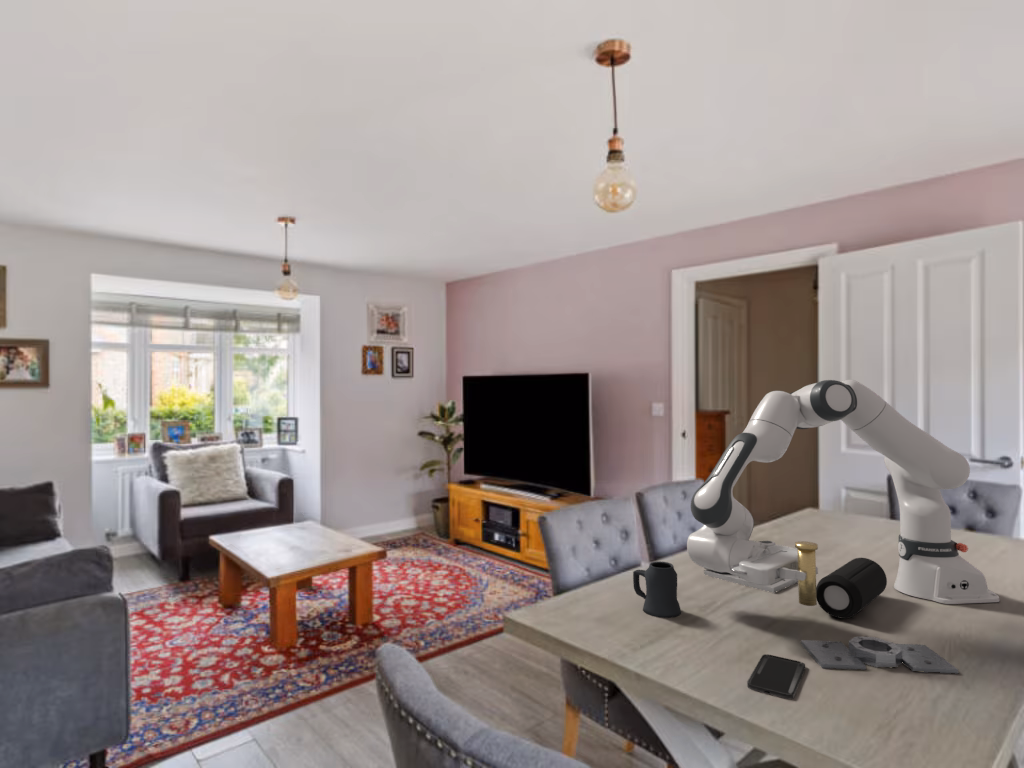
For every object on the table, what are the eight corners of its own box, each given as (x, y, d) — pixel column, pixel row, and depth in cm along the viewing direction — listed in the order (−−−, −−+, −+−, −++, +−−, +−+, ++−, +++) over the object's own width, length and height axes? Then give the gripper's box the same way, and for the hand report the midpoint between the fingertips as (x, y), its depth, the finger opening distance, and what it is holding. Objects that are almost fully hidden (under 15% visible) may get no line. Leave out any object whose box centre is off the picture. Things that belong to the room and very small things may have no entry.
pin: (814, 599, 132) (812, 541, 132) (822, 606, 128) (820, 546, 128) (793, 599, 132) (792, 541, 132) (800, 606, 128) (799, 546, 128)
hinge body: (924, 648, 124) (924, 636, 124) (958, 673, 113) (958, 660, 113) (800, 643, 127) (800, 632, 127) (821, 667, 116) (821, 655, 116)
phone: (806, 663, 116) (792, 695, 104) (806, 668, 116) (792, 702, 104) (763, 653, 121) (745, 683, 108) (763, 658, 121) (745, 689, 108)
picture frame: (704, 577, 174) (773, 595, 158) (703, 567, 174) (773, 585, 158) (732, 566, 184) (801, 583, 168) (732, 557, 184) (801, 572, 168)
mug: (687, 610, 147) (687, 564, 147) (669, 620, 140) (669, 572, 140) (644, 598, 155) (643, 555, 155) (625, 608, 148) (624, 562, 148)
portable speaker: (847, 589, 161) (847, 552, 161) (890, 598, 154) (889, 559, 154) (812, 615, 143) (811, 573, 143) (858, 626, 136) (857, 582, 136)
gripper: (725, 555, 134) (786, 569, 123) (772, 539, 146) (831, 550, 136) (726, 583, 134) (787, 599, 123) (773, 565, 146) (832, 578, 136)
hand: (811, 573), depth 129 cm, fingers closed on pin, 3 cm apart
